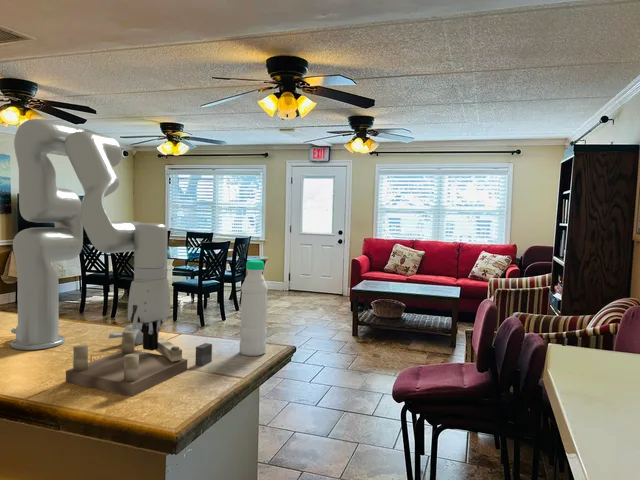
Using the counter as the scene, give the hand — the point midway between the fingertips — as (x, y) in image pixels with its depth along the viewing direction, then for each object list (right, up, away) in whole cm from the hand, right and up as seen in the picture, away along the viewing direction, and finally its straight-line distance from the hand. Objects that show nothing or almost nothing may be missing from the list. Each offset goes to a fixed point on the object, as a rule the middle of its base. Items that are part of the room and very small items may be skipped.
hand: (150, 348), depth 115 cm
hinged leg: (+4, -1, -1) cm, 4 cm away
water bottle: (+23, -4, +12) cm, 27 cm away
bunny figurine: (-10, -3, +18) cm, 21 cm away
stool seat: (0, -4, -5) cm, 6 cm away
